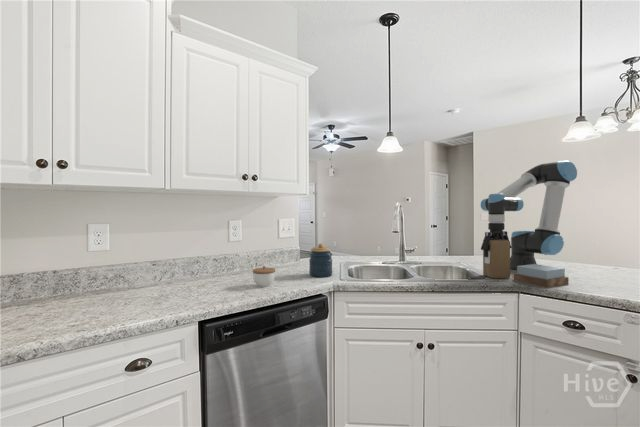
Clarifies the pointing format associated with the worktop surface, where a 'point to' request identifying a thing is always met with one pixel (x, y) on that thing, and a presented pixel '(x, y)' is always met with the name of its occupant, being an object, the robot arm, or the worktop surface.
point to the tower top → (541, 271)
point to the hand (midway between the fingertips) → (496, 262)
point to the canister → (320, 261)
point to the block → (498, 259)
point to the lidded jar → (263, 276)
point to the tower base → (542, 280)
